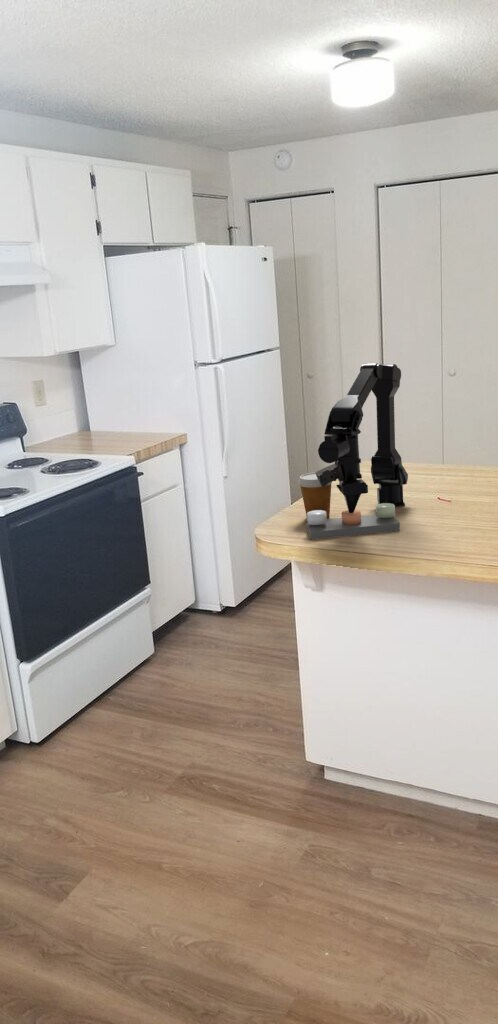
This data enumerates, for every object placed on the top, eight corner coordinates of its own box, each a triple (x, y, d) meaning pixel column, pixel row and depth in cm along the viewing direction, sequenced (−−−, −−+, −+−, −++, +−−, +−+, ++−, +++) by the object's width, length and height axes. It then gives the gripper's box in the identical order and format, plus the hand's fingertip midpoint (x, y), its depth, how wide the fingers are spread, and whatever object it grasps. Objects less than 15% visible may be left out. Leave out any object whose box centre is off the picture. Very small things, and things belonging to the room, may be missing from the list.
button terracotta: (359, 518, 218) (358, 509, 218) (362, 523, 213) (362, 514, 213) (340, 520, 218) (340, 511, 217) (343, 525, 213) (343, 516, 213)
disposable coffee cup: (325, 523, 223) (322, 481, 220) (294, 521, 228) (291, 479, 225) (341, 514, 231) (338, 472, 228) (311, 511, 236) (308, 470, 233)
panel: (391, 519, 222) (390, 512, 221) (399, 530, 212) (399, 523, 211) (306, 528, 221) (305, 521, 220) (311, 539, 211) (310, 532, 211)
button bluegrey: (325, 518, 218) (324, 509, 217) (328, 523, 213) (327, 514, 212) (306, 520, 218) (305, 511, 217) (309, 525, 213) (308, 516, 212)
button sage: (392, 511, 218) (392, 502, 218) (397, 516, 213) (396, 507, 213) (374, 513, 218) (373, 504, 217) (378, 518, 213) (377, 509, 213)
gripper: (311, 450, 220) (315, 506, 224) (321, 465, 202) (325, 526, 206) (353, 446, 220) (356, 502, 224) (366, 460, 202) (370, 521, 206)
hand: (351, 512), depth 215 cm, fingers closed, pressing on button terracotta
